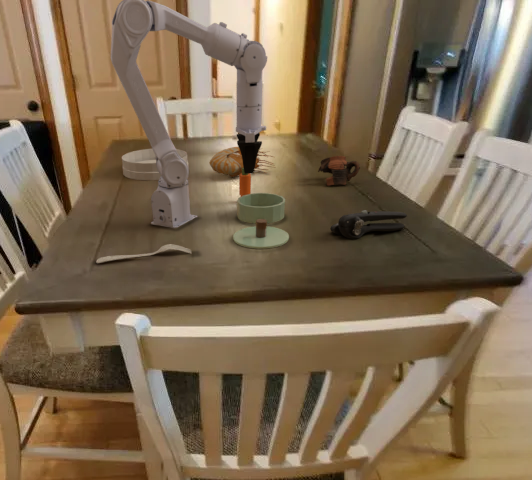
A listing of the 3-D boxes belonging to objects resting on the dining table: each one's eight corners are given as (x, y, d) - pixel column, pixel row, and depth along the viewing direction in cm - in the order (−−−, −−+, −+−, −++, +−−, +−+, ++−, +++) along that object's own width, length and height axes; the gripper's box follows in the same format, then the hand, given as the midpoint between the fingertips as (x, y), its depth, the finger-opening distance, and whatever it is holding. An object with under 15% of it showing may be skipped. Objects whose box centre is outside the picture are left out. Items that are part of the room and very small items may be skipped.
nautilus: (273, 169, 155) (277, 184, 143) (209, 167, 155) (208, 182, 143) (276, 143, 150) (281, 156, 138) (209, 141, 149) (209, 154, 138)
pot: (271, 228, 109) (272, 210, 106) (228, 221, 114) (228, 203, 112) (291, 214, 117) (293, 196, 114) (251, 207, 122) (251, 190, 119)
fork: (100, 269, 100) (96, 257, 98) (195, 251, 100) (192, 238, 98) (99, 275, 97) (95, 263, 96) (196, 256, 98) (194, 243, 96)
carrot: (247, 206, 123) (247, 170, 118) (237, 204, 124) (237, 169, 119) (252, 203, 125) (253, 167, 120) (242, 201, 126) (242, 166, 121)
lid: (273, 255, 97) (274, 234, 94) (222, 245, 102) (222, 225, 99) (297, 236, 105) (299, 216, 102) (249, 227, 110) (249, 208, 108)
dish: (112, 179, 150) (109, 162, 147) (137, 162, 167) (135, 147, 164) (177, 181, 145) (176, 164, 142) (196, 163, 162) (195, 148, 159)
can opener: (341, 245, 100) (345, 219, 96) (326, 234, 105) (329, 209, 102) (413, 233, 103) (419, 208, 100) (395, 223, 109) (400, 199, 105)
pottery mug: (316, 188, 136) (314, 158, 135) (323, 194, 144) (321, 167, 143) (358, 179, 130) (357, 148, 129) (363, 186, 139) (362, 158, 138)
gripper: (269, 109, 99) (266, 176, 107) (264, 100, 111) (262, 161, 119) (236, 110, 99) (236, 177, 108) (235, 101, 111) (235, 162, 119)
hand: (248, 169), depth 113 cm, fingers open, 7 cm apart
